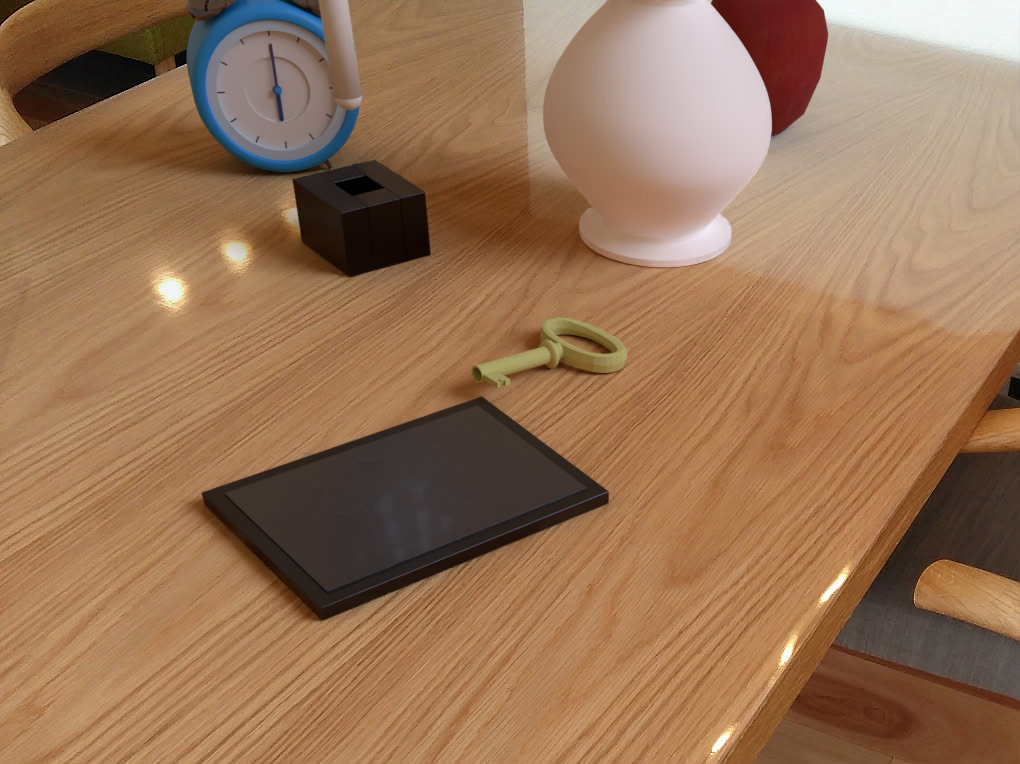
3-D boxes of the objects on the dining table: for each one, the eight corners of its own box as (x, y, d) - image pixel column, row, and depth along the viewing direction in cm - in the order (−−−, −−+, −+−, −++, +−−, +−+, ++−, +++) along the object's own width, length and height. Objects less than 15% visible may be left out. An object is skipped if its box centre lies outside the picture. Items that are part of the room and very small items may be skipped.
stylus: (345, 115, 105) (309, -106, 96) (331, 109, 106) (294, -111, 97) (369, 110, 106) (336, -110, 97) (355, 104, 107) (321, -114, 98)
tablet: (322, 621, 81) (319, 606, 80) (203, 504, 88) (200, 490, 87) (609, 503, 91) (609, 489, 90) (482, 407, 98) (481, 394, 97)
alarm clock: (209, 181, 120) (171, -16, 110) (203, 152, 124) (166, -41, 114) (370, 171, 124) (348, -21, 114) (358, 143, 128) (336, -45, 118)
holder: (349, 277, 110) (341, 212, 106) (301, 242, 114) (291, 178, 110) (431, 254, 114) (425, 191, 110) (382, 221, 117) (375, 159, 114)
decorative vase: (536, 189, 124) (525, -148, 107) (740, 187, 127) (761, -139, 110) (558, 285, 112) (549, -79, 94) (783, 280, 115) (814, -71, 98)
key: (466, 396, 99) (464, 367, 97) (559, 325, 107) (558, 297, 106) (557, 426, 97) (557, 397, 96) (645, 351, 105) (645, 324, 104)
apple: (735, 95, 144) (744, -54, 134) (840, 123, 140) (856, -28, 131) (673, 131, 136) (678, -25, 127) (783, 162, 132) (796, 4, 123)
